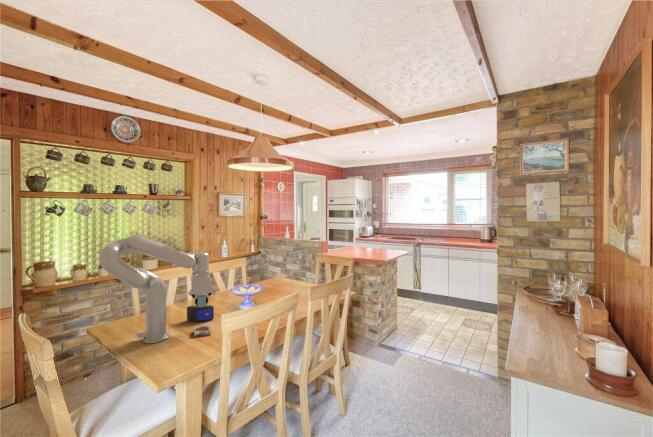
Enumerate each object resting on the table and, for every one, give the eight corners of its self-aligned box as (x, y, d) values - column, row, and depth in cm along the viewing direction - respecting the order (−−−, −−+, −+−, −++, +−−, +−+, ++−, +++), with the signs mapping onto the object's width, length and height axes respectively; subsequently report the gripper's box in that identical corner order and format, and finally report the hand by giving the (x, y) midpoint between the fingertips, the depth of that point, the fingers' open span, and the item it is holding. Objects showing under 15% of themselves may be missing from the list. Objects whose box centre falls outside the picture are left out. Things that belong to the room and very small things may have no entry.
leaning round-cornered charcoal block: (184, 323, 180) (184, 308, 180) (187, 320, 185) (187, 305, 185) (212, 322, 183) (212, 307, 182) (214, 319, 187) (213, 304, 187)
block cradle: (193, 337, 160) (193, 333, 160) (193, 331, 168) (193, 327, 168) (210, 335, 164) (210, 330, 164) (210, 329, 172) (210, 324, 172)
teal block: (197, 307, 168) (197, 296, 167) (197, 304, 171) (197, 294, 171) (205, 306, 169) (205, 295, 169) (205, 303, 173) (205, 293, 173)
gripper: (185, 276, 163) (185, 308, 163) (217, 273, 170) (217, 304, 171) (185, 273, 170) (185, 304, 170) (216, 271, 177) (216, 301, 177)
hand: (201, 304), depth 170 cm, fingers closed on teal block, 4 cm apart
